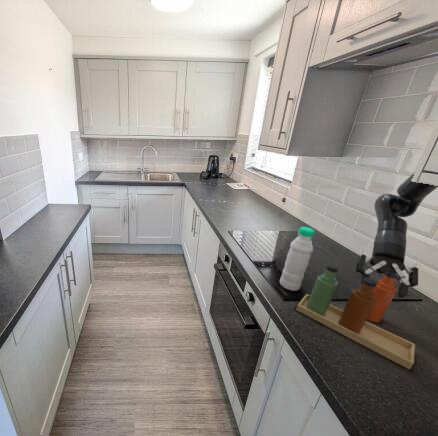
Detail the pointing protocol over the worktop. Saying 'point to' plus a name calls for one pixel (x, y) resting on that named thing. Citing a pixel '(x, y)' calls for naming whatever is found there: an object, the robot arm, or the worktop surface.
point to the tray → (366, 335)
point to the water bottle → (297, 260)
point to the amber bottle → (359, 306)
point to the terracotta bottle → (383, 296)
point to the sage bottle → (323, 291)
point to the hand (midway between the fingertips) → (382, 291)
